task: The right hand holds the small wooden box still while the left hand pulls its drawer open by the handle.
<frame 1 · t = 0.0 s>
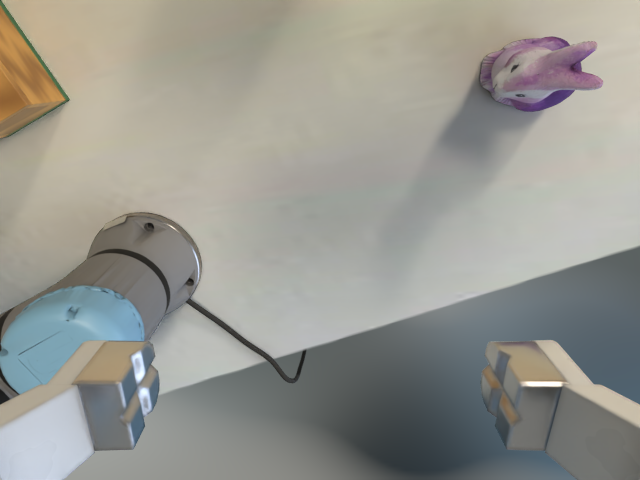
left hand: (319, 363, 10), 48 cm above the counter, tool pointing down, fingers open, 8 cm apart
figurine: (514, 76, 53), on the counter
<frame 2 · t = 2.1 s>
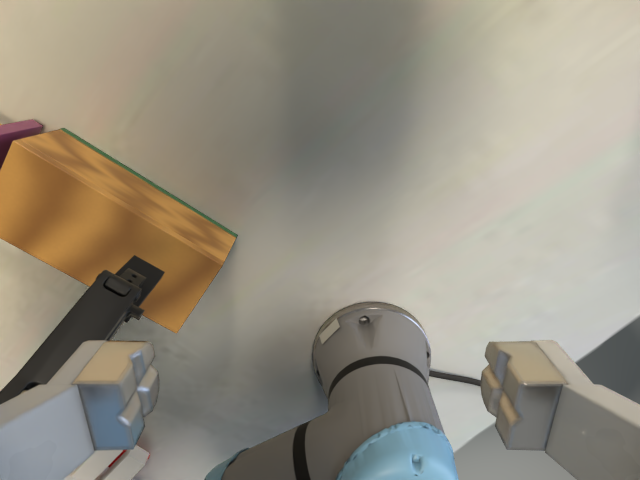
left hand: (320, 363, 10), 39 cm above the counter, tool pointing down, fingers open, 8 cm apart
wooden box: (135, 218, 50), on the counter
drawer: (68, 201, 45), point 4 cm above the counter, slide at 1.5 cm
toy: (81, 476, 66), on the counter
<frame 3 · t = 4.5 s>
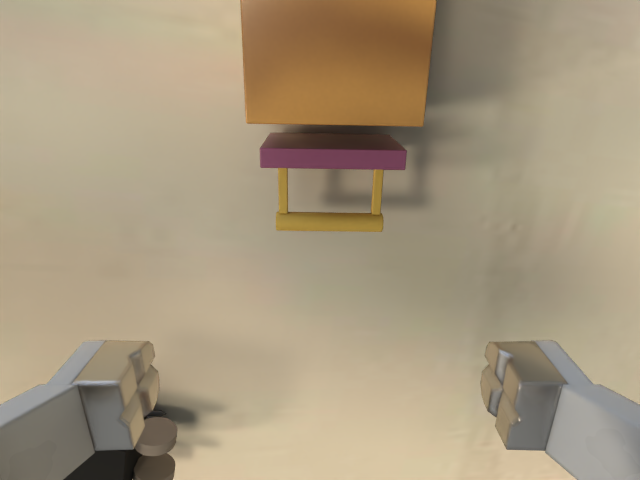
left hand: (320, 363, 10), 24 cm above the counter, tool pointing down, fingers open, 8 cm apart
drawer: (334, 32, 26), point 4 cm above the counter, slide at 1.5 cm
figurine character: (109, 412, 42), on the counter
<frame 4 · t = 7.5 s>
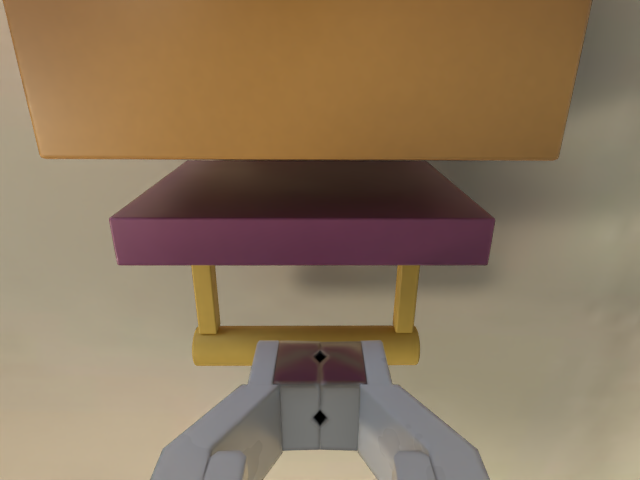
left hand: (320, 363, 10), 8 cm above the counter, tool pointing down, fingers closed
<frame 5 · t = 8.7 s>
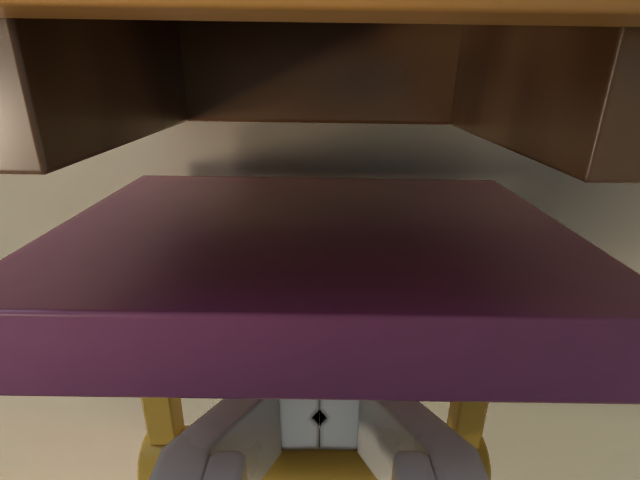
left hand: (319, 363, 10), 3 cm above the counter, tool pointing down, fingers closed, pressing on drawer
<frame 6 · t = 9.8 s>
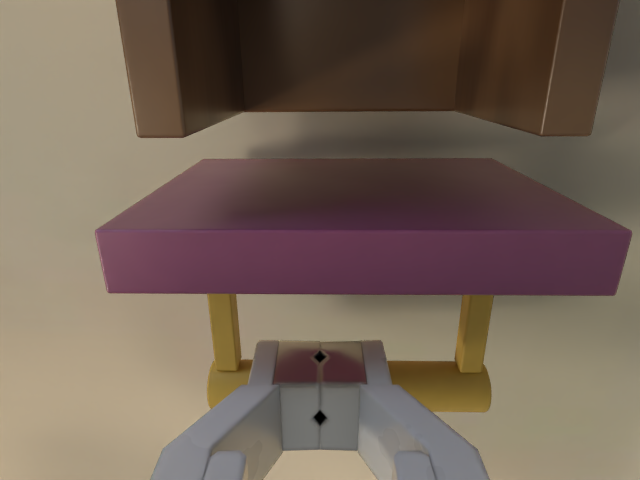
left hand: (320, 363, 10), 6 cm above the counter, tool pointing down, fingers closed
when the right hand's fingers open (3 cm above the counter, at t = 11.0 s): wooden box stays where it is, on the counter.
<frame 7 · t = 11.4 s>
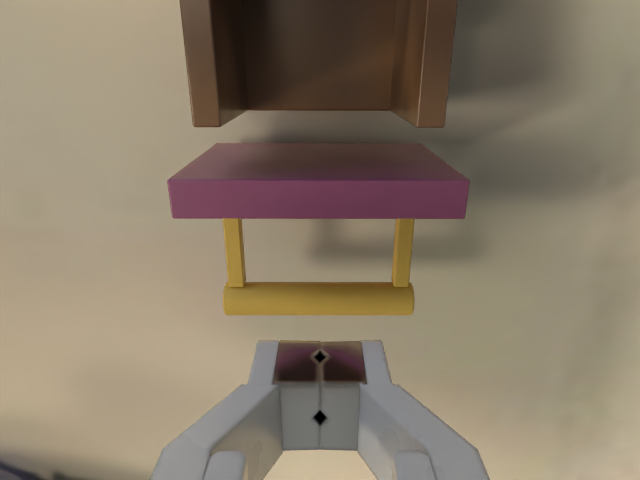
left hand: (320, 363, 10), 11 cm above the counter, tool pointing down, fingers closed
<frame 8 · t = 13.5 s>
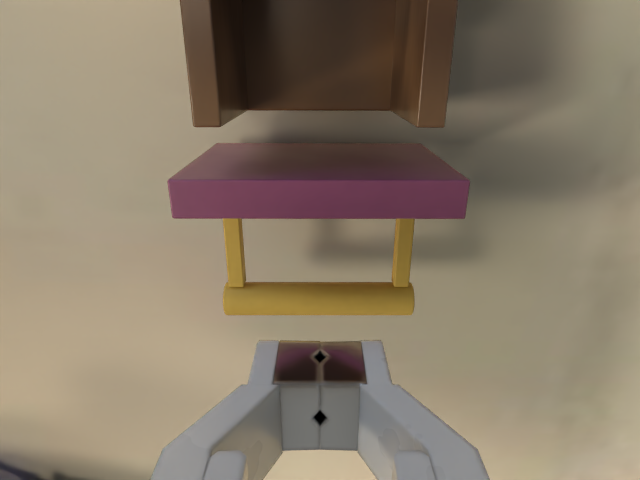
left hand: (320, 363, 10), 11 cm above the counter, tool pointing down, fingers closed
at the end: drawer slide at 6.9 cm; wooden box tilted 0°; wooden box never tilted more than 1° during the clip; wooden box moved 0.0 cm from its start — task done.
